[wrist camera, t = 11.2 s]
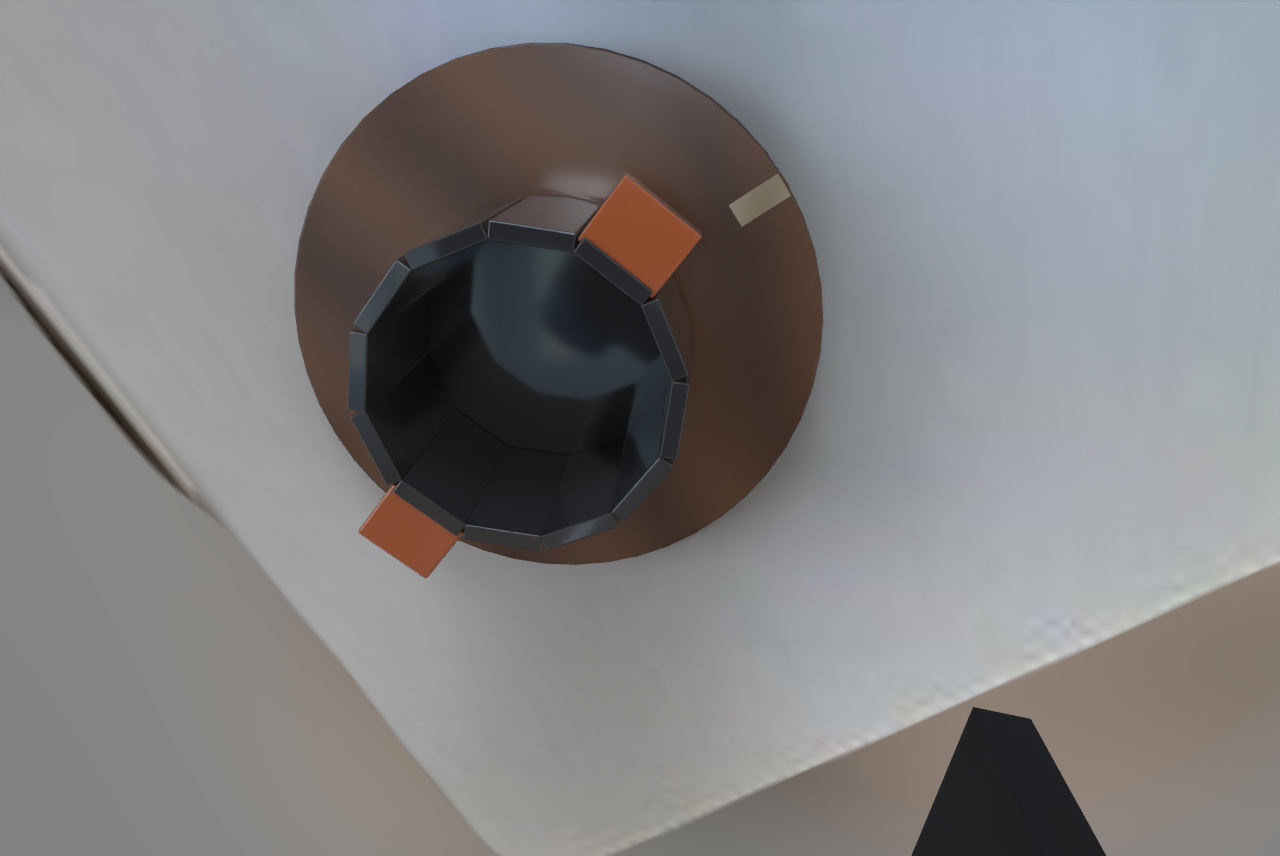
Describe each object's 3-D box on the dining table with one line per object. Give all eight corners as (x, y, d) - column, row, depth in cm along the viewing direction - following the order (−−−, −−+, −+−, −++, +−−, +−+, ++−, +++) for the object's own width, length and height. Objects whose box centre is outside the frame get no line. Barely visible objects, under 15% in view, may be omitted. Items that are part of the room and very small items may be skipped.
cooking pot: (779, 270, 28) (804, 320, 22) (551, 537, 32) (517, 644, 26) (556, 86, 27) (513, 83, 21) (345, 390, 31) (254, 466, 24)
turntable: (506, 619, 36) (498, 642, 34) (207, 243, 31) (182, 251, 30) (908, 397, 32) (919, 412, 30) (633, -80, 27) (630, -90, 25)
